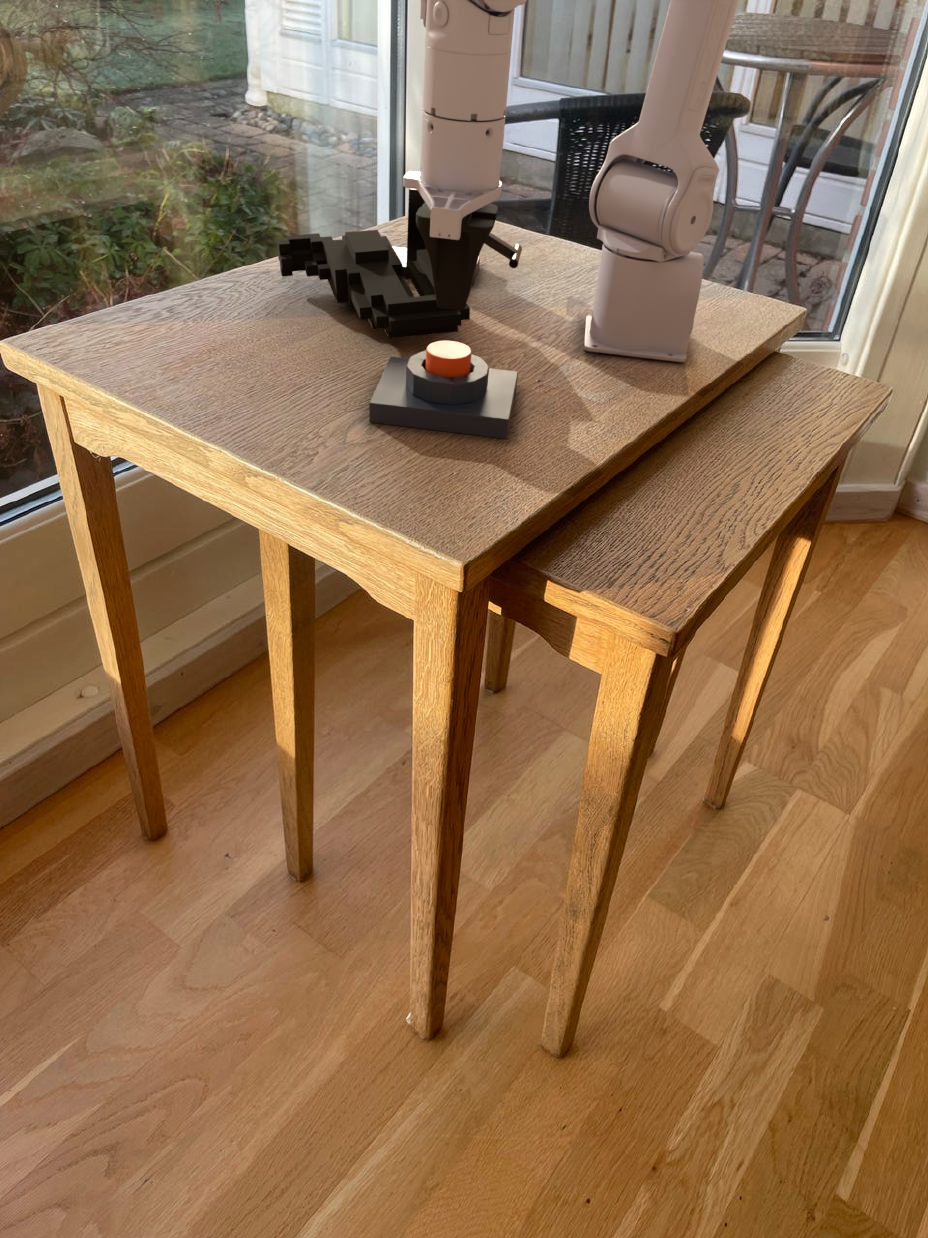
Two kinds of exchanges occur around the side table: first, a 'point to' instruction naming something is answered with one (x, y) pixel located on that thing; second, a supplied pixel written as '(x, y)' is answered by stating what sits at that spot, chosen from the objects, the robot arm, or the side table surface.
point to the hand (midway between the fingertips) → (451, 305)
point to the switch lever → (505, 249)
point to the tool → (373, 281)
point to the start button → (448, 359)
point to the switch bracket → (415, 234)
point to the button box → (445, 398)
